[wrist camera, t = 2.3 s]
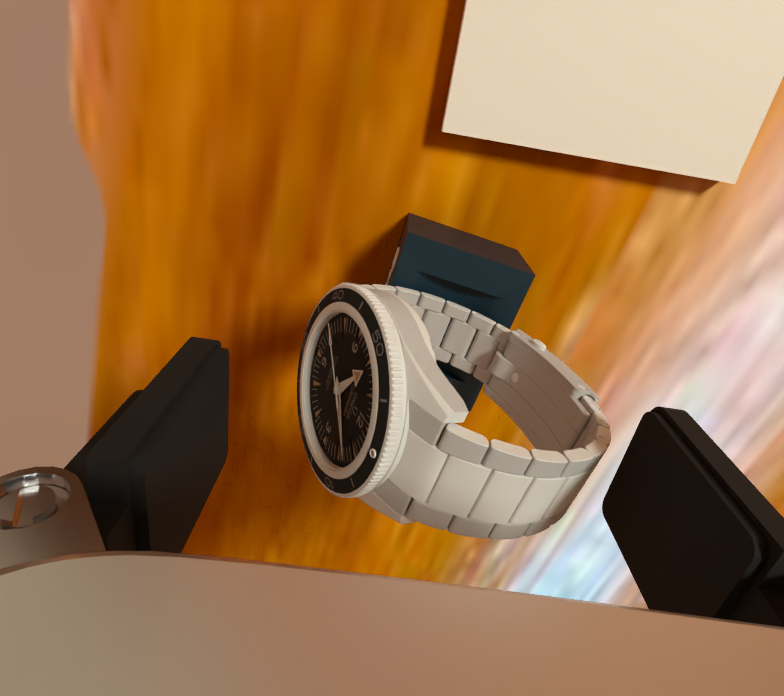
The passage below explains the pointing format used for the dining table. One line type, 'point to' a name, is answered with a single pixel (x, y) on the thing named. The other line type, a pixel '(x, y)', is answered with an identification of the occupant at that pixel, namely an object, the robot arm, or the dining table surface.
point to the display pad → (620, 79)
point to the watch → (444, 393)
